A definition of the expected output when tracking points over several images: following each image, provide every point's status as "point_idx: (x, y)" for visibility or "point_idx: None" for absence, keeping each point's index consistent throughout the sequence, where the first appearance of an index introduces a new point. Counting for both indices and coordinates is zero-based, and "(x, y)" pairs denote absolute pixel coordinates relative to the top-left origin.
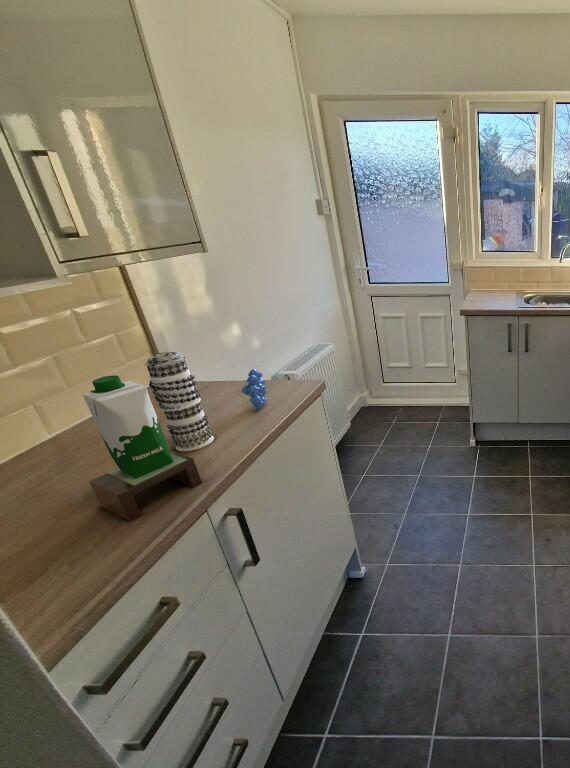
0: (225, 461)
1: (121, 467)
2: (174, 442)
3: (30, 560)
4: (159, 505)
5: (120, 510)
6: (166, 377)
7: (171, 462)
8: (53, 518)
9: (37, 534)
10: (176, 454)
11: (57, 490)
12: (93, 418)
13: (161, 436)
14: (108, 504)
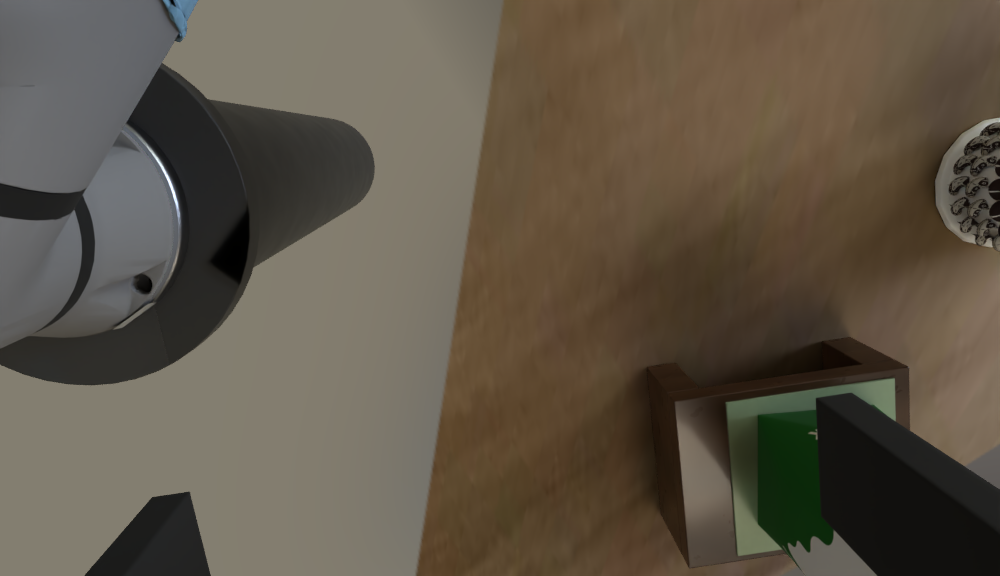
0: (961, 421)
1: (763, 473)
2: (960, 180)
3: (468, 481)
4: None
5: (666, 501)
6: None
7: None
8: (550, 313)
9: (504, 367)
10: None
11: (603, 124)
12: (868, 573)
13: None
14: (660, 439)
